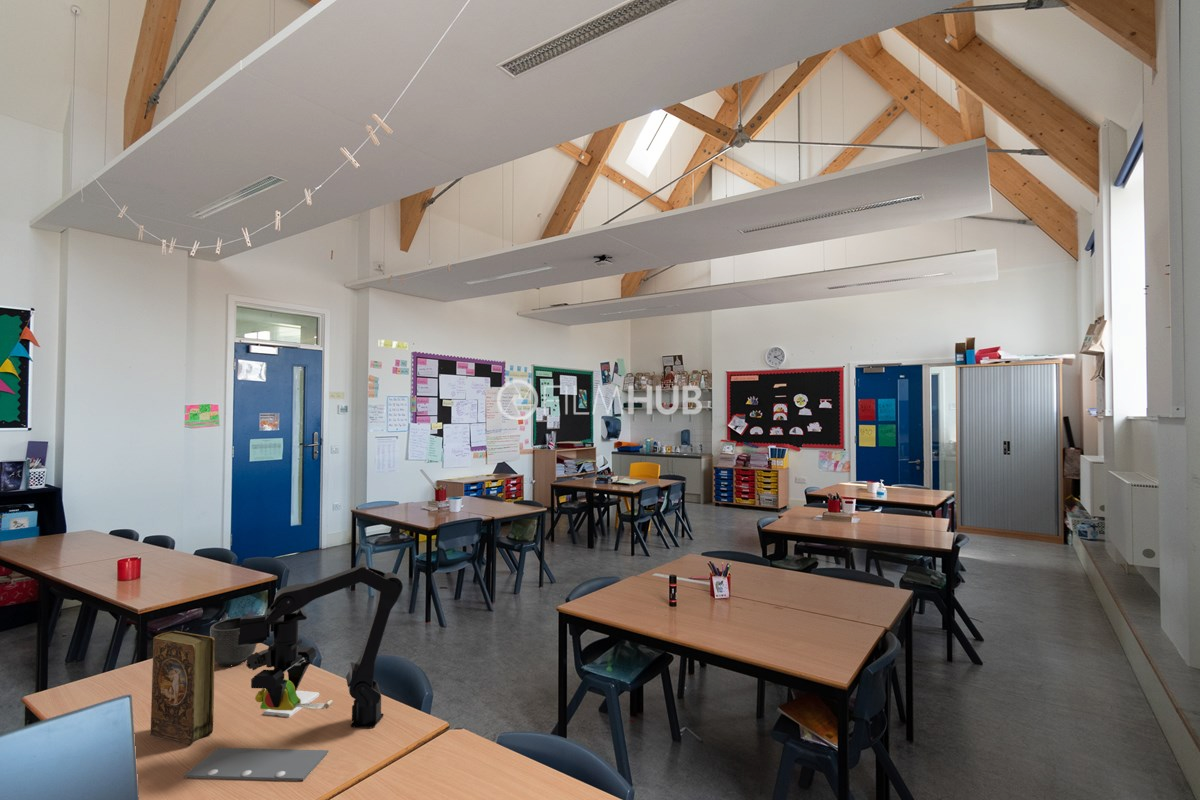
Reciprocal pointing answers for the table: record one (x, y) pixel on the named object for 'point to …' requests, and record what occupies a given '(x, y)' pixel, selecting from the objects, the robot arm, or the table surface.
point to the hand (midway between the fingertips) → (284, 700)
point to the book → (182, 686)
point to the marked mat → (258, 764)
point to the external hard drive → (305, 698)
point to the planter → (229, 642)
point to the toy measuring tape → (287, 700)
